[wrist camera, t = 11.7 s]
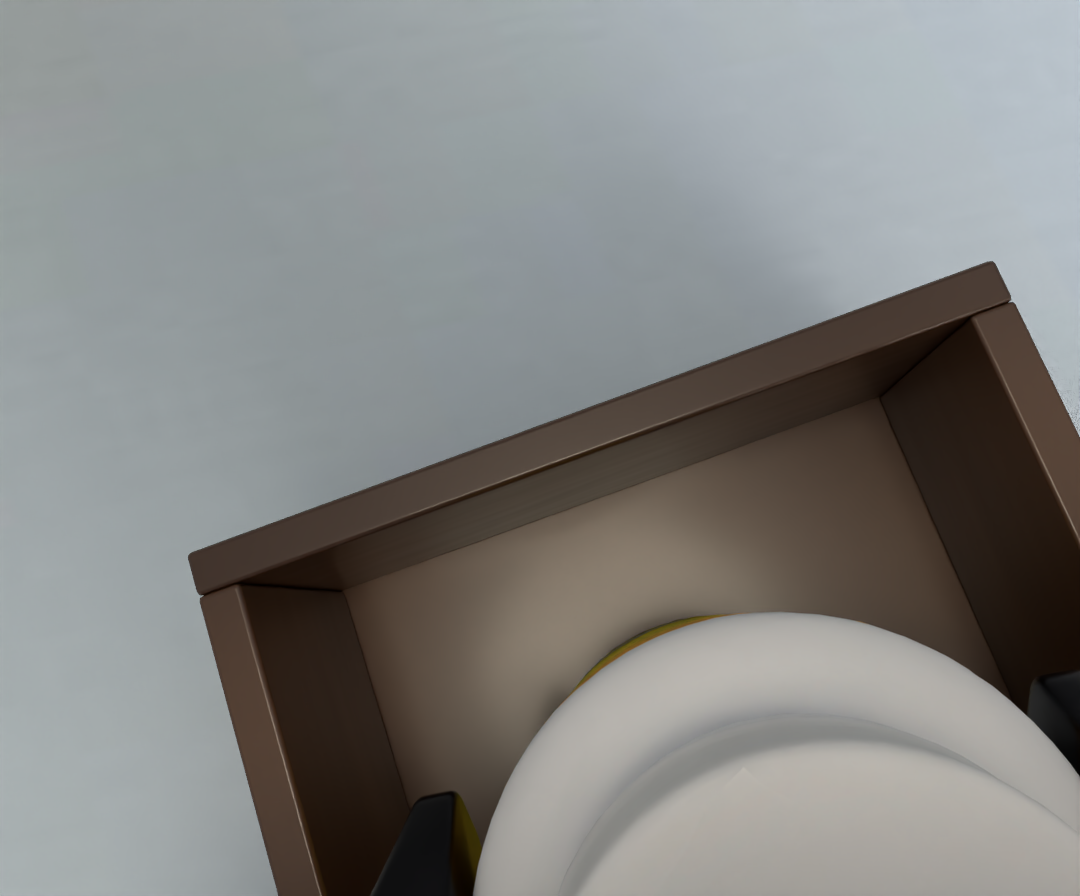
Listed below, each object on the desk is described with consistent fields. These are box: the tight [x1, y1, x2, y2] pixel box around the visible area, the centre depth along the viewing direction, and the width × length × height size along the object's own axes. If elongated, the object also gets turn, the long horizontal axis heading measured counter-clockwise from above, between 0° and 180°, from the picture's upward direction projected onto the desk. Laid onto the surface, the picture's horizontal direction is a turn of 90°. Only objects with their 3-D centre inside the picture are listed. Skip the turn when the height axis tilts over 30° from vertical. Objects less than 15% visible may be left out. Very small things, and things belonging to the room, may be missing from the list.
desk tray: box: [188, 261, 1080, 896], centre depth 13 cm, size 11×11×5 cm
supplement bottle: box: [473, 612, 1080, 896], centre depth 10 cm, size 6×6×10 cm
